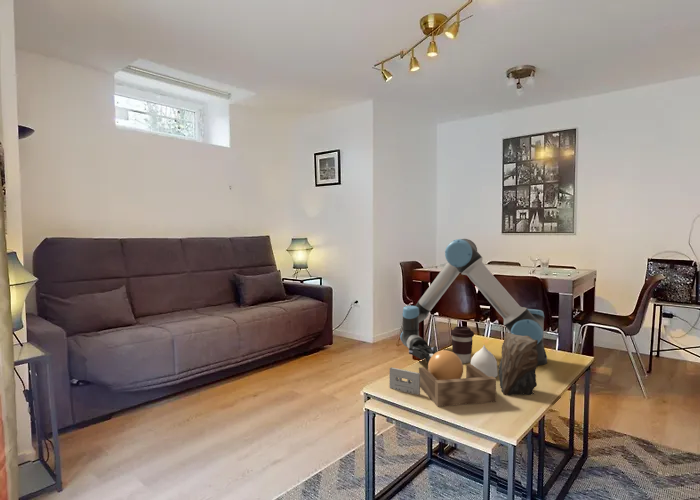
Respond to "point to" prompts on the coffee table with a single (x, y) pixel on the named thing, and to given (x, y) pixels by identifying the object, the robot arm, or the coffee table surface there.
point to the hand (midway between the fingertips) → (436, 362)
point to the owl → (518, 365)
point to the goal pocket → (459, 388)
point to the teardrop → (485, 362)
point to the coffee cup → (462, 343)
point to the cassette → (407, 385)
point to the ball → (445, 365)
